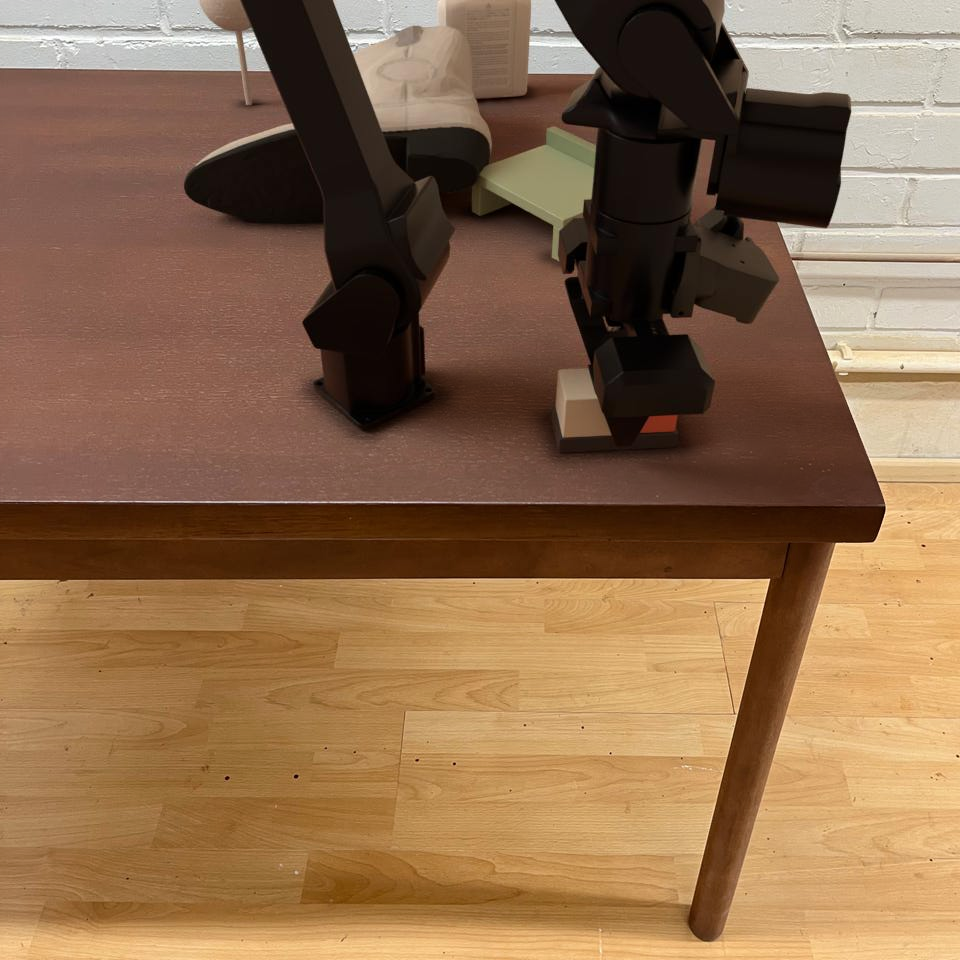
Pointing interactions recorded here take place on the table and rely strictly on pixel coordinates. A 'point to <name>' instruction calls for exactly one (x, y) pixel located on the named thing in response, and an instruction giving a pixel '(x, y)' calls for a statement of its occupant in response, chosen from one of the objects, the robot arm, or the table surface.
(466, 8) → the white printed package
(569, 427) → the block
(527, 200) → the shoe shelf
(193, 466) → the table surface
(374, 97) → the cowboy boot
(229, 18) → the lollipop
